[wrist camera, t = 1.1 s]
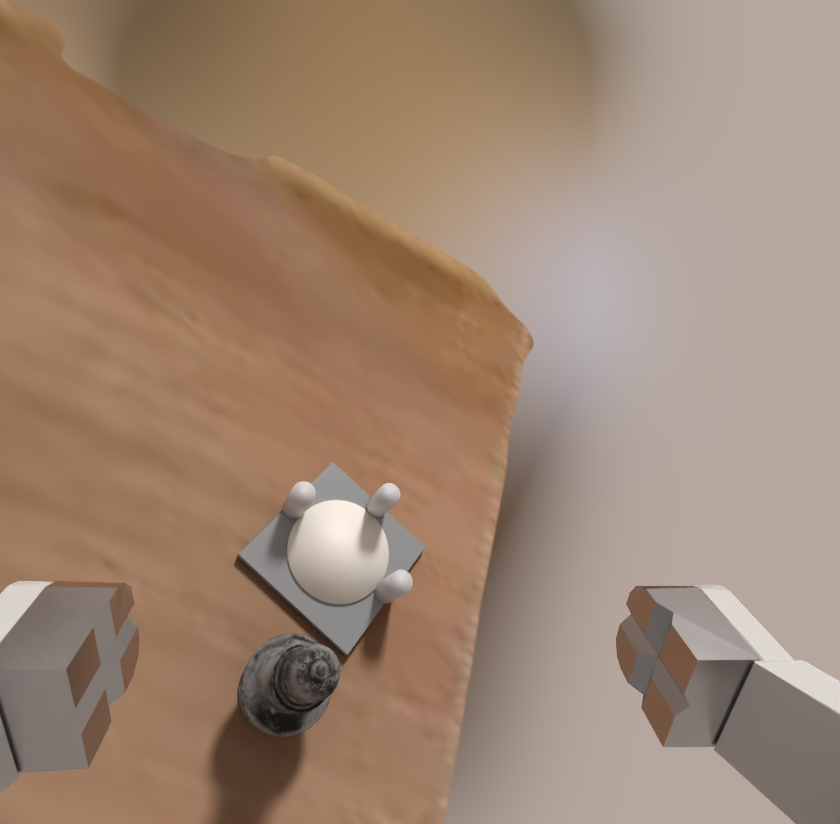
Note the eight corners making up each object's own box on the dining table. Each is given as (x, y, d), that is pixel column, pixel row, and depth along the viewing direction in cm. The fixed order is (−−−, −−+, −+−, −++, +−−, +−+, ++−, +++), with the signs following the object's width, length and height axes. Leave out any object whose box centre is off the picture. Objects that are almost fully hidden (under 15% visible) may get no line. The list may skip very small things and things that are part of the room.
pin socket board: (233, 552, 39) (241, 535, 36) (330, 459, 46) (343, 438, 43) (349, 659, 39) (367, 652, 35) (428, 548, 46) (449, 534, 43)
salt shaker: (297, 625, 38) (346, 588, 29) (334, 702, 37) (397, 689, 27) (219, 670, 35) (245, 645, 26) (255, 757, 33) (297, 764, 24)
